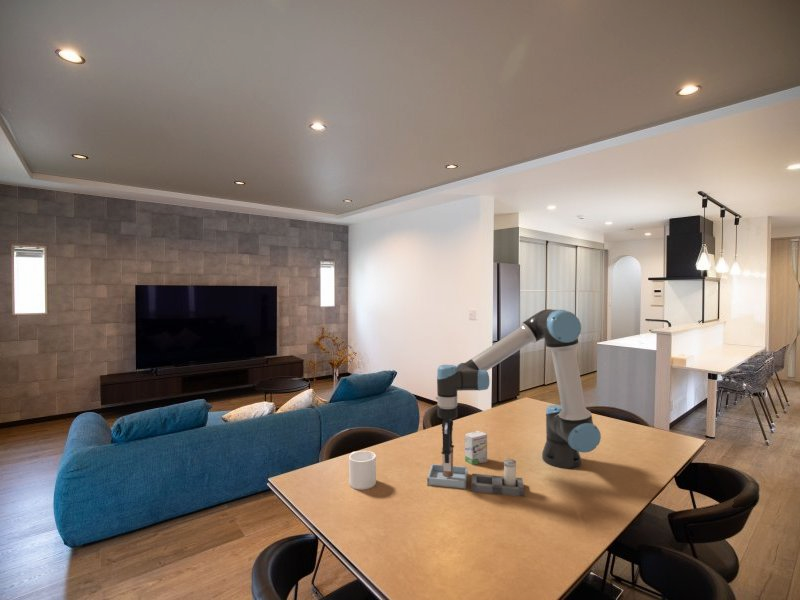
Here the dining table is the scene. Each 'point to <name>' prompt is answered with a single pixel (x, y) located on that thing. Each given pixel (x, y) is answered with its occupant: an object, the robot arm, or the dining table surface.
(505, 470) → the cylinder
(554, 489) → the dining table surface
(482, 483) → the block
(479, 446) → the ink box
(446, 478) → the parts tray
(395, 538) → the dining table surface
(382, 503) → the dining table surface
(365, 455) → the mug
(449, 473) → the fuse
